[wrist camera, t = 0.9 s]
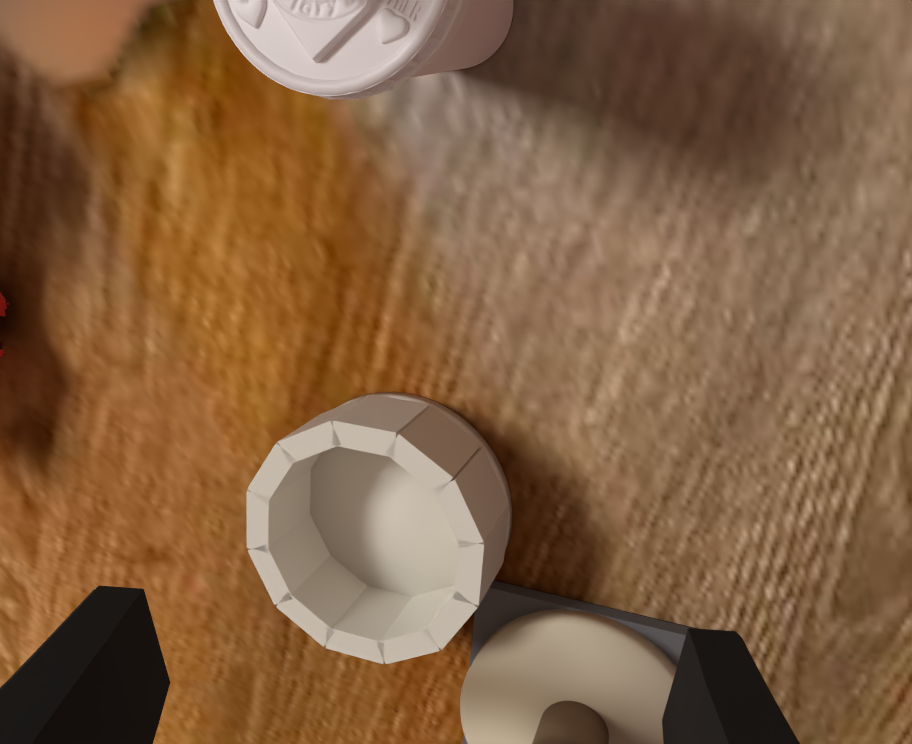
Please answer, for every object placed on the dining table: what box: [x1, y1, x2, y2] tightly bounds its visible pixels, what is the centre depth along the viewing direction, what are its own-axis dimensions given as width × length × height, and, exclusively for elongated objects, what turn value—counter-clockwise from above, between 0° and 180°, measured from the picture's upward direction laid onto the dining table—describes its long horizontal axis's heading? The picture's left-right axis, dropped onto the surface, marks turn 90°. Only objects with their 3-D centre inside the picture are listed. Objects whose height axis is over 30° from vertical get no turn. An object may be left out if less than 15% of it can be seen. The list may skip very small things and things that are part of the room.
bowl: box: [247, 392, 512, 664], centre depth 31 cm, size 9×9×4 cm
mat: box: [463, 580, 696, 744], centre depth 32 cm, size 9×9×1 cm
